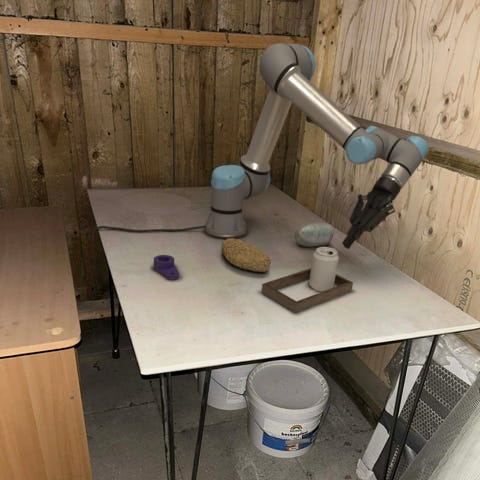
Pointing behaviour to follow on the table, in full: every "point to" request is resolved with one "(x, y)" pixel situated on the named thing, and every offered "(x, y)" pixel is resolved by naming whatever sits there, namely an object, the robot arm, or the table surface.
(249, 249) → the sponge
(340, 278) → the walnut frame
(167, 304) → the table surface
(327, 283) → the can
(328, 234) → the streaked grey-green pebble
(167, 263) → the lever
